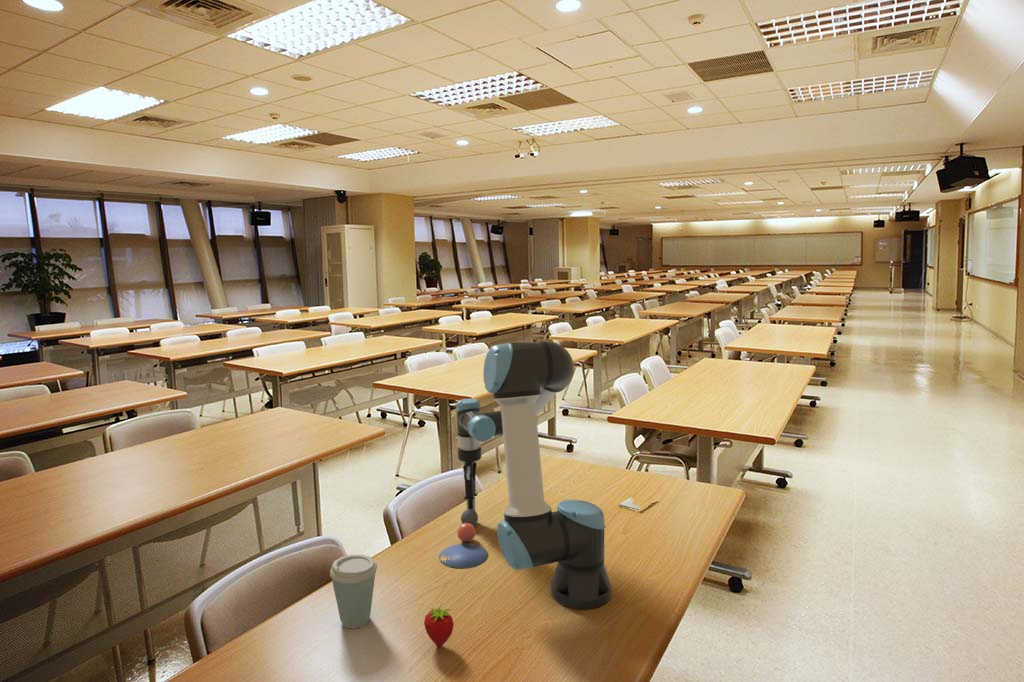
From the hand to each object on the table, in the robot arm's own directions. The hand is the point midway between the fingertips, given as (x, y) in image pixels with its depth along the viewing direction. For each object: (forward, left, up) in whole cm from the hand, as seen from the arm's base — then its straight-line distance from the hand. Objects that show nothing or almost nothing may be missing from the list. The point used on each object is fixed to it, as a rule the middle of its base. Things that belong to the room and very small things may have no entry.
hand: (471, 516), depth 189 cm
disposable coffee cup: (-54, +22, -2) cm, 58 cm away
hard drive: (+13, -57, -3) cm, 58 cm away
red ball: (-14, 0, +1) cm, 14 cm away
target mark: (-23, 0, -2) cm, 23 cm away
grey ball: (-3, 0, +1) cm, 4 cm away
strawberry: (-63, +1, -2) cm, 63 cm away
